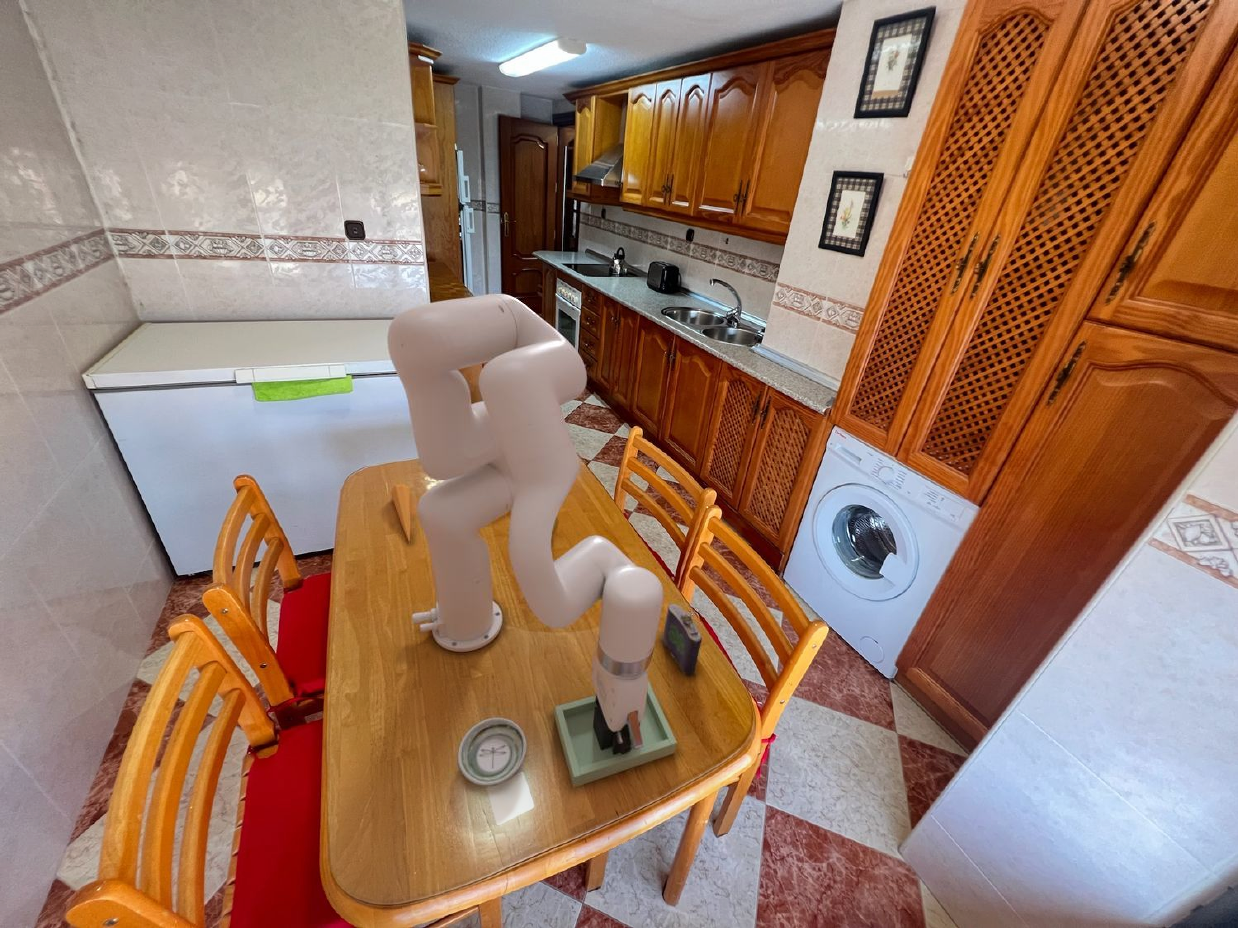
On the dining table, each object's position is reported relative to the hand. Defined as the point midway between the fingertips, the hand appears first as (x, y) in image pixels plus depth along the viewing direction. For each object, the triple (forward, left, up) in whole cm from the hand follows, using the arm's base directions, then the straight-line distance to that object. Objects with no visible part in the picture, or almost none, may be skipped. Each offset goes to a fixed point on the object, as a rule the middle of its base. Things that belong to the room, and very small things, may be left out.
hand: (613, 724), depth 76 cm
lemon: (+1, +50, -3) cm, 50 cm away
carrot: (-30, +64, -3) cm, 71 cm away
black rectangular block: (0, 0, -2) cm, 2 cm away
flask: (+17, +10, -3) cm, 20 cm away
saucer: (-18, +2, -3) cm, 18 cm away
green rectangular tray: (0, 0, -3) cm, 3 cm away
